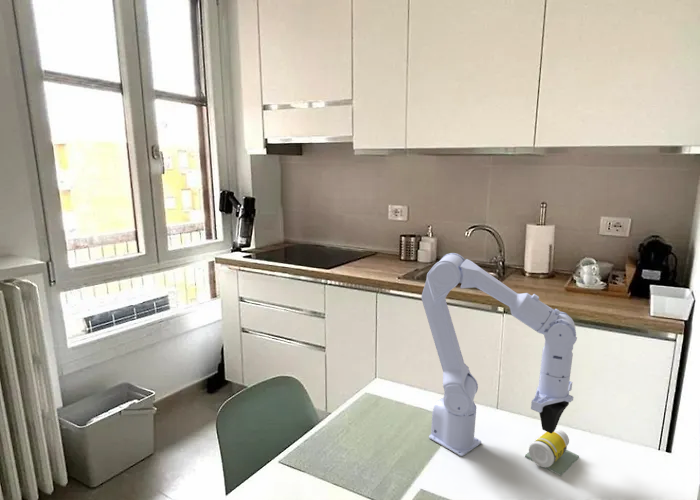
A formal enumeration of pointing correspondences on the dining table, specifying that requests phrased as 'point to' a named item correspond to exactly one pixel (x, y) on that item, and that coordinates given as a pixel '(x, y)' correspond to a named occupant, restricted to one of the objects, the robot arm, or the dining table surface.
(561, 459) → the mat
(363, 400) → the dining table surface
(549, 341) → the robot arm
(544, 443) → the supplement bottle
